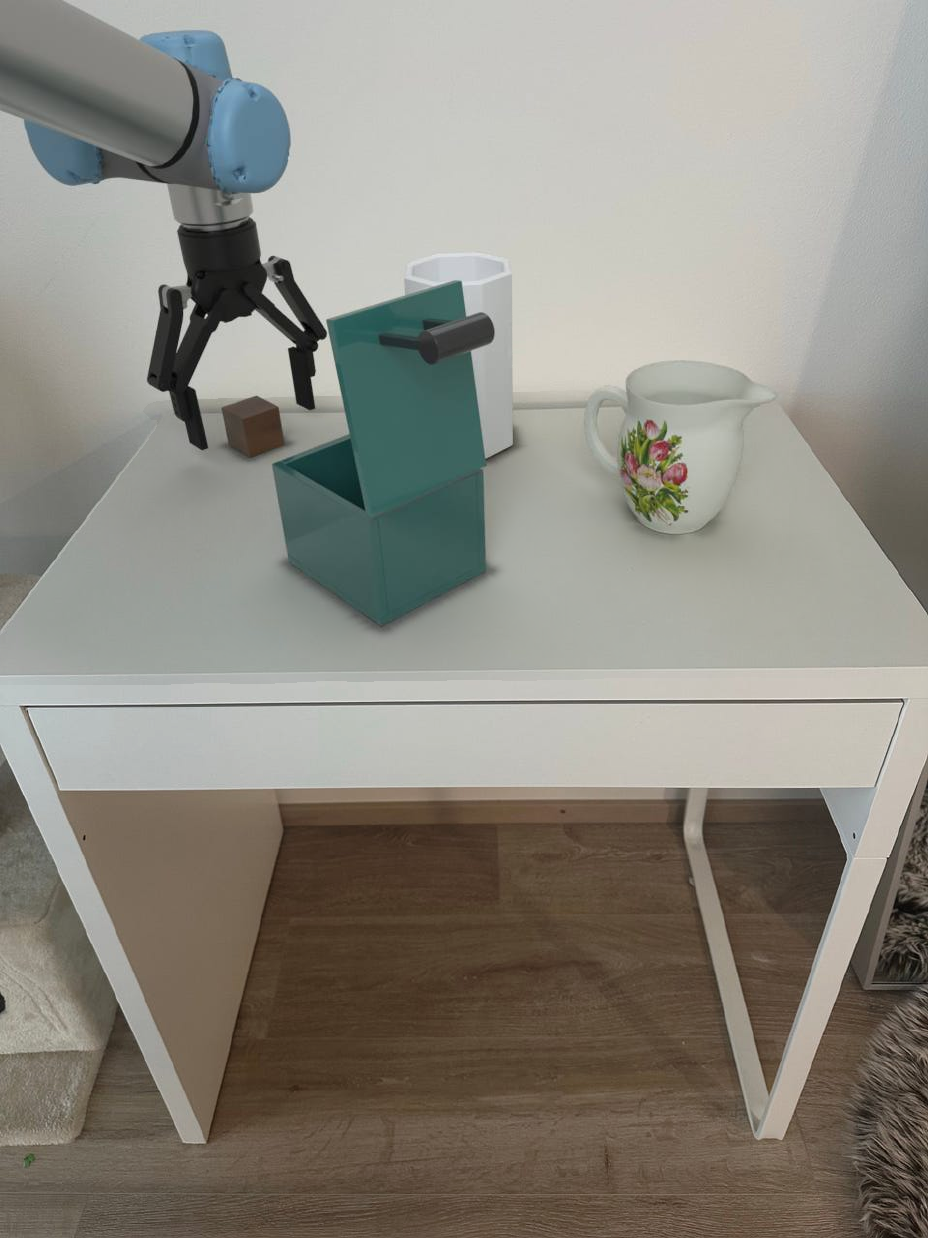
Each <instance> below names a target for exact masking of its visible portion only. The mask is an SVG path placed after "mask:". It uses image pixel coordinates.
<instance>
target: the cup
mask: <svg viewBox="0 0 928 1238" xmlns="http://www.w3.org/2000/svg"><path fill="white" fill-rule="evenodd" d="M454 280H460V281H462V288H463V295H464V303H465V310H466V316H469V315H472V314H475V313H478V312H483V313H485V314H487V315H488V316H489V317H490V319H491V320H492V322H493V325H494V330H495V335H494V339H493V341H492V342H491V343H490V344H488V345H486V346H483V347H480V348H477V349H475V350H472V351H471V355H472V363H473V370H474V377H475V385H476V392H477V400H478V407H479V415H480V422H481V430H482V437H483V445H484V452H485V460H487V459H488V458H490V457H492V456H494V455H496V454H498V453H501V452H502V451H504V450H505V449H508V448H509V447H512V446H513V445H514V436H513V435H514V406H513V405H514V401H513V400H514V399H513V398H514V396H513V395H514V393H513V391H514V390H513V388H514V387H513V386H514V385H513V381H514V380H513V273H512V267H511V262H510V260H509V259H507V258H505V257H501V256H498V255H497V256H496V255H492V254H488V253H485V252H484V253H483V252H480V251H479V252H478V251H471V252H469V251H468V252H445V253H443V252H441V253H435V254H432V255H429V256H425V257H422V258H419V259H416V260H413V261H410V262H408V263H407V264H406V265H405V266H404V275H403V282H404V296H405V295H408V294H411V293H414V292H418V291H421V290H424V289H428V288H431V287H434V286H437V285H441V284H444V283H447V282H450V281H454Z"/></svg>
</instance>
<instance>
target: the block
mask: <svg viewBox="0 0 928 1238" xmlns="http://www.w3.org/2000/svg"><path fill="white" fill-rule="evenodd" d="M220 409H221V413H222V418H223V423H224V428H225V432H226V433H225V434H226V438H227V443H228V446H229V447H231V448H233V449H235V450H236V451H237V452H239V453H241V454H243V455H245V456H246V457H248V458H253V457H255V456H259V455H261V454H264V453H266V452H269V451H272V450H274V449H277V448H280V447H282V446H284V445H285V437H284V433H283V432H284V431H283V426H282V419H281V413H280V407H279V406H278V405H276V404H275V403H272V402H270V401H268V400H267V399H264V398H262V397H261V396H259V395H253V396H251V397H248V398H245V399H242V400H238V401H235V402H233V403H230V404H227V405H225V406H222V407H221V408H220Z"/></svg>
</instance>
